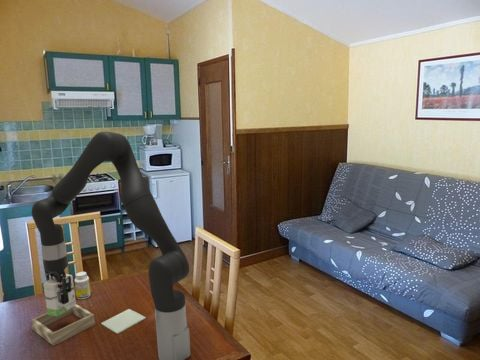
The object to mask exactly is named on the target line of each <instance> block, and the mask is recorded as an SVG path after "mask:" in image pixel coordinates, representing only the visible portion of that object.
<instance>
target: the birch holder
mask: <svg viewBox="0 0 480 360" xmlns="http://www.w3.org/2000/svg"><path fill="white" fill-rule="evenodd" d="M70 315H74V316H76V317H77V318H79V319H78V320H76V321H74V322H72V323H70V324H67V325H66V326H64V327H62V328H59V329H57V330H55V331H52V330H51V329H49V327H47V325H50V324H52V323H54V322H57V321H59V320H61V319H63V318H65V317H67V316H70ZM30 321H31V326H32V330H33V332H35V333H36V334H38V335H39V336H40V337H41V338H43V339H44V340H45V341H46V342H47V343H49V344H51V345H52V346H56V345H58V344H60V343H62V342H63V341H65V340H68V339H70V338H72V337H74V336H75V335H78V334H79V333H81V332H84V331H85V330H88V329H89V328H91V327H93V326H95V325H96V321H95V314H94V313H92V312H90V311H88V310H87V309H85V308H84V307H82V306H80V305H78V304H77V303H76V305H75V306H73V307H72V308H70V309H69V310H67V311H66V312H64V313H63V314H61V315H60V316H58V317H57V316H52V315H48V314H47V312H46V313H44V314H41V315H39V316H36V317H34V318H32V319H31V320H30Z"/></svg>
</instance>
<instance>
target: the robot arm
mask: <svg viewBox="0 0 480 360" xmlns="http://www.w3.org/2000/svg"><path fill="white" fill-rule="evenodd" d="M104 162H108V163H109V162H110V163H111V162H112V165H113V166H114V168H115V170H116V171H117V174H118V176H119V180H120V185H121V186H120V193H121V194H120V196H121V203H122V206H123V208H124V211H125V212H126V215H127V217H128V219H129V220H130V222H131V223H132V224H133V225H134V226H135V228H137V229H138V230H139V231H141V232H142V233H144V234H145V235H146V236H148V237H149V238H150V239H151V240H152V241H153V242H154V243H155V245H156V246H157V247H158V250H160V252H161V255H159V256H158V257H155V258H153V259H152V260H151V261H150V262H149V265H148V279H149V286H150V287H149V288H150V295H151V297H152V298H151V299H152V301H153V303H154V315H155V317H154V318H155V330H156V341H157V343H156V345H157V353H158V360H186V359H188V358H189V357H190V356H191V341H190V340H191V339H190V328H189V327H188V325H187V308H186V295H185V293H184V292H183V291H181V290H179V289H174V285H175V284H177V283H178V282H180V281H183V280H184V279H185V278H187V277H188V276H189V273H190V264H189V262H188V261H189V260H188V259H187V256H186V254H185V253H184V251H183V249H182V248H181V247H180V244H178V242H177V240H176V239H175V237H174V235H173V233H172V232H171V230H170V228H169V226H168V225H167V222H166V220H165V219H164V217H163V215H162V213H161V210H160V208H159V206H158V204H157V201H156V199H155V198H154V196H153V194H152V192H151V190H150V188H149V186H148V184H147V182H146V180H145V178H144V176H143V173H142V172H141V170H140V168H139V167H140V166H139V165H138V162H137V160H136V157H135V154H134V151H133V148H132V147H131V144H130V141H129V140H128V138H127V137H126V136H124V135H123V134H121V133H118V132H112V131H99V132H97V133H96V134H95V135H94V136H93V137H92V138H91V140H90V141H89V142H88V144H87V145H86V146H85V148H84V150H83V151H82V153H81V154H80V156H78V159H77V160H76V161H75V163H74V164H73V166H72V167H71V169H70V170H69V171H68V172H67V173H66V174H64V176H63V177H62V178H61V179H60V180H59V181H58V182H57V183H56V184H55V186H54V187H52V191H51V194H50V196H47V197H45V198H43V199H40V200H38V201H36V202H34V204H33V205H32V208H31V217H32V219H33V221H34V224H35V226H36V228H37V230H38V232H39V237H40V245H41V257H42V264H43V270H44V276H45V280H46V281H48V280H50V279H53V280H54V281H55V282H56V283H58V282H60V283H62V285H59V284H58V288H59V289H60V294H61V301H62V304H66V303H68V302H69V298H68V293H69V292H71V277H70V276H68V277H67V276H66V274H67V273H66V272H65V271H66V268H68V266H69V262H68V261H69V260H68V252H67V246H66V242H65V236H64V235H65V234H64V229H63V226H62V225H61V224H58V223H55V222H54V218H56V217H59V216H60V215H62V214H63V213H64V212H65V211H66V210H67V208H68V206H70V203H71V202H72V201H73V200H74V199H76V198H77V196H79V194H80V193H81V192H82V191H83V190H84V188H85V187H86V186H87V184H88V181H89V178H90V176H91V174H92V172H93V171H94V169H96V168H97V167H99V166H100V165H101V164H103V163H104ZM62 289H63V290H62Z"/></svg>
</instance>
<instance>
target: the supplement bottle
mask: <svg viewBox="0 0 480 360" xmlns="http://www.w3.org/2000/svg"><path fill="white" fill-rule="evenodd" d="M90 282H91V281H90V277H89V276H88V274H87V272H86V271H79V272H77V273H76V274H75V278H74V290H75V298H76V299H78V300H85V299H88V298H89V297H91V295H92V293H91V292H92V291H91V283H90Z"/></svg>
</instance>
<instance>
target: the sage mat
mask: <svg viewBox="0 0 480 360" xmlns="http://www.w3.org/2000/svg"><path fill="white" fill-rule="evenodd" d="M145 319H146V316H144V315H142V314H140V313H139V312H136V311H134V310H132V309H131V308H128V309H126V310H124V311H122V312H120V313H118V314H116V315H114V316H112V317H110V318H108V319H106V320H104V321H103V322H101V324H100V325H102V327H105V328H107V329H109V330H110V331H112V332H113V333H115V334H117V335H118V334H121V333H122V332H123V331H125V330H127V329H129V328H131V327H132V326H135V325H136V324H138V323H140V322H141V321H143V320H145Z"/></svg>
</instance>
